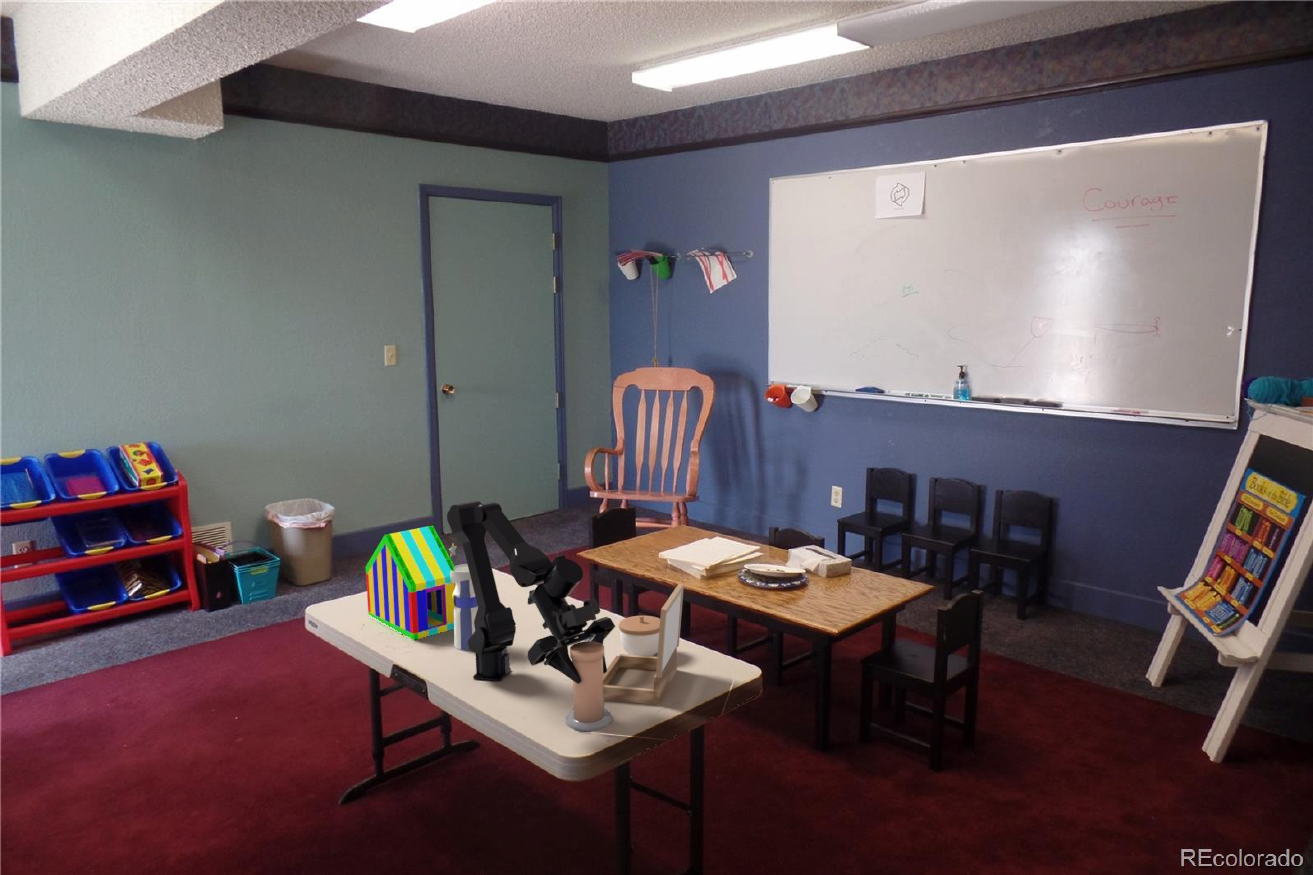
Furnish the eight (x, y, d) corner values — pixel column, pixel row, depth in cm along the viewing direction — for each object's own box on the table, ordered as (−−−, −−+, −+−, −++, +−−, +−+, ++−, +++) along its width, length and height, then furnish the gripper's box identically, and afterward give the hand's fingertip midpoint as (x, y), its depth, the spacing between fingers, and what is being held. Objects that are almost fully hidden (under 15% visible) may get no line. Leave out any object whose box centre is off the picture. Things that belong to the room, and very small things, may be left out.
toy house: (368, 618, 233) (363, 527, 230) (414, 606, 242) (409, 518, 239) (413, 641, 216) (408, 542, 212) (461, 627, 225) (456, 532, 222)
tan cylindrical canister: (565, 716, 171) (563, 648, 169) (589, 705, 176) (587, 638, 174) (588, 726, 166) (586, 656, 164) (612, 715, 171) (611, 646, 169)
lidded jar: (639, 643, 212) (639, 605, 211) (674, 653, 205) (673, 614, 204) (610, 656, 204) (609, 617, 203) (644, 667, 197) (644, 627, 196)
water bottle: (448, 651, 208) (443, 549, 205) (456, 638, 217) (452, 540, 213) (482, 651, 208) (478, 549, 205) (489, 638, 217) (485, 540, 213)
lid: (655, 677, 176) (654, 609, 175) (674, 645, 194) (673, 582, 192) (666, 678, 176) (665, 609, 174) (684, 645, 194) (683, 582, 192)
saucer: (559, 729, 168) (559, 724, 167) (574, 709, 176) (573, 704, 176) (604, 733, 166) (603, 729, 165) (616, 713, 174) (616, 708, 174)
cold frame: (593, 699, 180) (592, 672, 180) (616, 666, 198) (616, 641, 197) (658, 705, 177) (658, 677, 177) (676, 671, 195) (676, 645, 194)
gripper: (534, 599, 164) (573, 671, 157) (607, 578, 177) (647, 643, 170) (511, 630, 170) (548, 700, 164) (583, 607, 183) (620, 671, 177)
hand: (592, 677), depth 169 cm, fingers open, 6 cm apart
